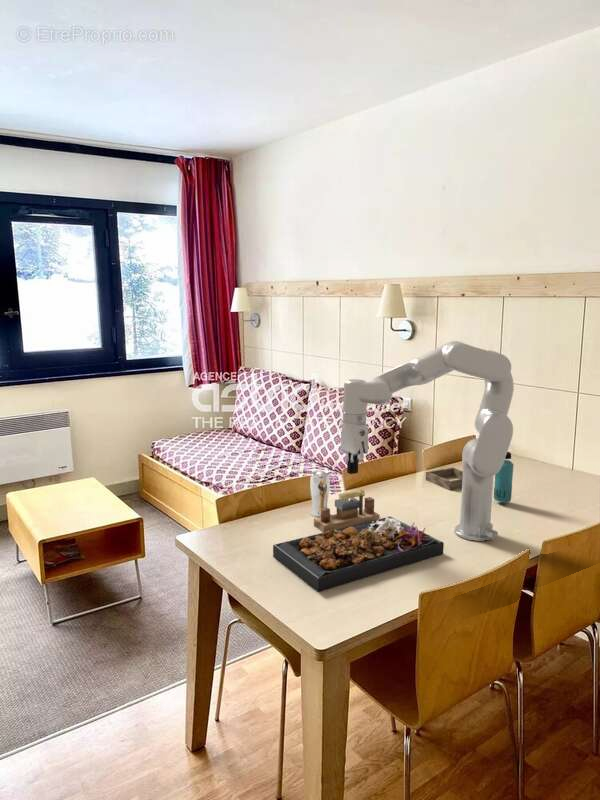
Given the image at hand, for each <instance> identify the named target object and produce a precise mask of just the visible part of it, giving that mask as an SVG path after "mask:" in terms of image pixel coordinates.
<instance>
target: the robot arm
mask: <svg viewBox="0 0 600 800" xmlns="http://www.w3.org/2000/svg"><path fill="white" fill-rule="evenodd" d="M453 371H456V372H459V373H461V374H465V375H468V376H472V377H475V378H480V379H482V380H483V381H484V391H483V395H482V399H481V402H480V405H479V409H478V411H477V415H476V417H475V420H474V427H475V430H476V431H477V432H478V434H479V435H478V437H477V438H473V439H470V440H469V441H468V442H466V443H465V445H464V447H463V449H462V454H461V457H462V458H461V459H462V460H461V462H462V463H461V464H462V465H461V466H462V471H463V480H462V488H461V498H460V499H461V500H460V502H461V503H460V515H459V517H460V519H459V524H457V525H456V526H455V527H454V533H455V534H456V535H457V536H458V537H460V538H462V539H464V540H467V541H468V540H469V541H473V540H474V542H475V541H476V542H486V541H485V540H487V541H490V540H494V539H495V538H496V536H497V535H498V534H499V533H498V531H496V530H495V529H493V526H494V525H493V523H492V522H491V519H492V507H493V506H492V503H493V502H492V501H493V492H494V477H495V475H496V474H497V473H498V472H499V471H500V469H501V468H502V465H503V463H504V460H506V459H505V457H506V454H507V452H509V447H510V445H511V442H512V439H513V435H514V426H513V421H512V420H511V419H510V417H509V416H508V413H509V409H510V407H511V403H512V399H513V396H514V395H513V394H514V389H515V388H514V387H515V386H514V379H513V376H512V375H513V374H512V363H511V361H510V359H509V358H508V357H507V356H506V355H504V354H502V353H500V352H498V351H495V350H494V351H493V350H491V349H490V350H487V349H483V348H479V347H476V346H472V345H470V344H467V343H464V342H462V341H458V340H453V341H449V342H447V343H445V344H443V345H441V346H438V347H437V348H435V349H433V350H431V351H429V352H426V353H425V354H422V355H421V356H418V357H417V358H414V359H412V360H408V361H407V362H405V363H403V364H401V365H398V366H396V367H393V368H392V369H389V370H386V371H385V372H382V373H381V374H378V375H377V376H375V377H373V378H372V379H371V380H369V381H368V382H367V381H366V380H364V379H355V378H353V379H346V380H345V381H344V383H343V399H342V400H343V403H342V404H343V405H342V425H341V434H340V446H341V449H342V451H343V453H344V454H345V455H346V456H345V457H346V461H347V462H346V463H347V466H346V467H347V468H346V473H347V474H350V475H355V474H358V473H359V462H360V460H363V459H364V458H365V457H364V454H365V455H367V454H368V453H369V430H368V425H367V410H368V406H367V405H368V404H371V405H376V406H382V405H386V404H388V403H389V402H390V401H391V400H392V399H393V394H394V393H396V392H398V391H401V390H402V389H406V388H409V387H413V386H423V385H426V384H429V383H430V382H432V381H435V380H437V379H439V378H440V377H442V376H445V375H446V374H449V373H451V372H453Z"/></svg>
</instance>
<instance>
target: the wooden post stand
mask: <svg viewBox="0 0 600 800" xmlns="http://www.w3.org/2000/svg"><path fill="white" fill-rule="evenodd" d="M358 500H359V501H360V508H355V509H350V510H344V511H342V510H340V509H338V508H337V507H336V513H335V514H331V509H330V508H329V507H327V508H322V509H321V517H315V518H313V527H314V528H317V529H318V530H319V531H321V533H324V532H327V531H329V530H337V529H341V528H345V527H349V526H353V525H357V524H361V523H365V522H370V521H374V520H378V519H379V518H380V517H381V516H380V514H379V513H378V512H375V499H374V498H373V497H371V496H370V497H369V496H368V497H364V496H358ZM363 500H364V502H363ZM363 503H364V506H363ZM380 519H381V518H380Z"/></svg>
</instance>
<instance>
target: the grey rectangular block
mask: <svg viewBox="0 0 600 800" xmlns="http://www.w3.org/2000/svg"><path fill="white" fill-rule="evenodd" d="M334 507H335V508H336V509H337V508H338V509H340V510H342V511H344V510H350V509H355V508H358V509H359V508H360V501H359V499H356V497H353V498H347V499H339V498H338V499H334Z"/></svg>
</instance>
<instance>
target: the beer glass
mask: <svg viewBox="0 0 600 800" xmlns="http://www.w3.org/2000/svg"><path fill="white" fill-rule="evenodd" d="M330 479H331V477H330V472H328V471H326V470H315V471H312V472H311V473H310V479H309V480H310V481H309V483H310V484H309V487H310V488H309V489H310V496H311V497H310V498H311V502H312V505H311V506H312V507H311V510H310V511H311V512H310V515H311V516H313V517H315V518H319V517H321V509H322V508H328V501H329V496H330V489H331V481H330Z"/></svg>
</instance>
